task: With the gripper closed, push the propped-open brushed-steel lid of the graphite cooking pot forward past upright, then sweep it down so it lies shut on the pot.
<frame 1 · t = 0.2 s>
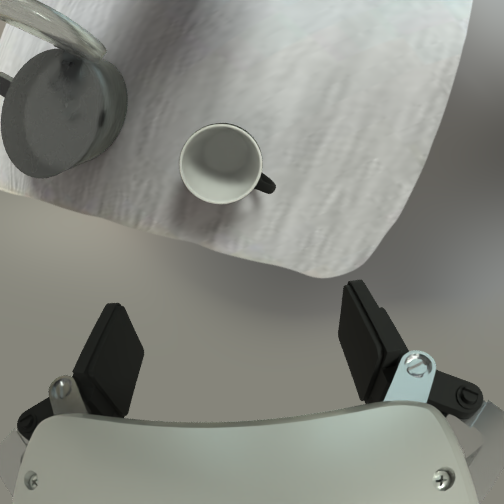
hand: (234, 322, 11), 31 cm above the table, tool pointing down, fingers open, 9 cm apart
mug: (234, 157, 38), on the table
lid: (25, 14, 11), point 19 cm above the table, hinge at 100.0°
pot: (79, 109, 33), on the table
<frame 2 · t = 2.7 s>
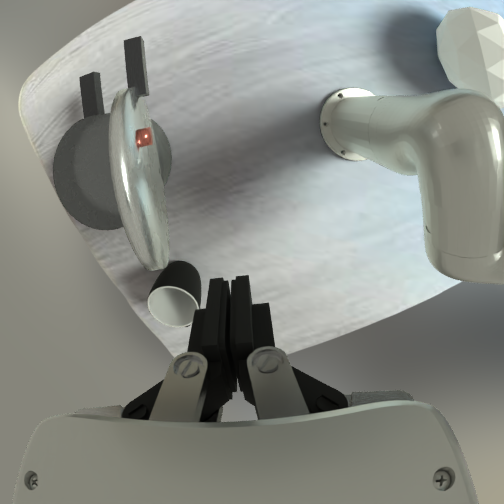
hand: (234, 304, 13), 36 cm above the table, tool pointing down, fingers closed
mug: (184, 280, 55), on the table
geometric polyhedron: (454, 58, 34), on the table
lid: (145, 151, 25), point 19 cm above the table, hinge at 100.0°
pot: (124, 160, 43), on the table
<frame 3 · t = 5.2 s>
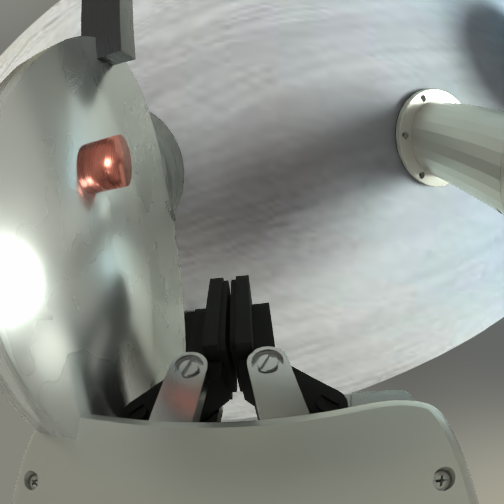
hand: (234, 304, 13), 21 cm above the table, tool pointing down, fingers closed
lid: (126, 186, 11), point 19 cm above the table, hinge at 95.9°, touching gripper
pot: (114, 175, 29), on the table
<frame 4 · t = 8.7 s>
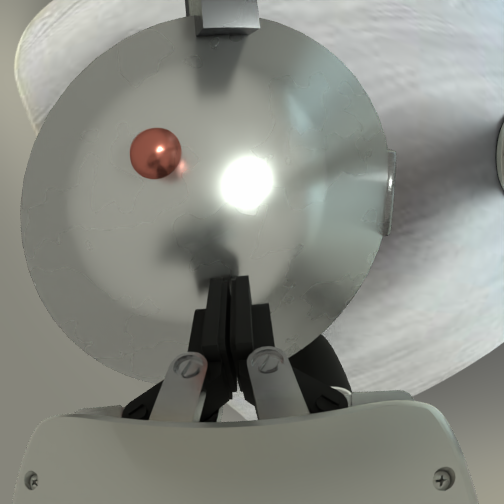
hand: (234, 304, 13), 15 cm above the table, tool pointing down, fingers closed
mug: (300, 351, 37), on the table
lid: (246, 172, 11), point 15 cm above the table, hinge at 22.3°, touching gripper
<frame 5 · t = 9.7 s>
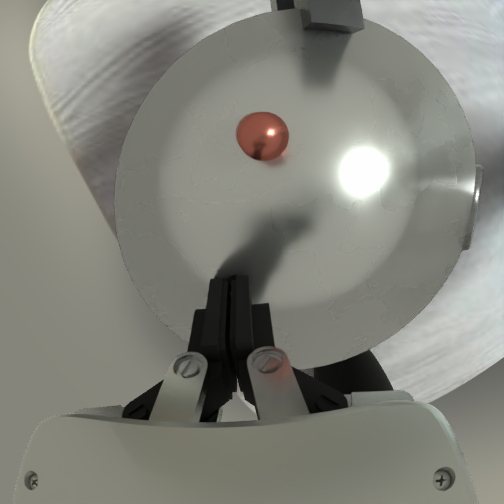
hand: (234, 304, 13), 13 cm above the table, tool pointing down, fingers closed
mug: (338, 360, 34), on the table
lid: (345, 166, 10), point 12 cm above the table, hinge at 5.2°, touching gripper
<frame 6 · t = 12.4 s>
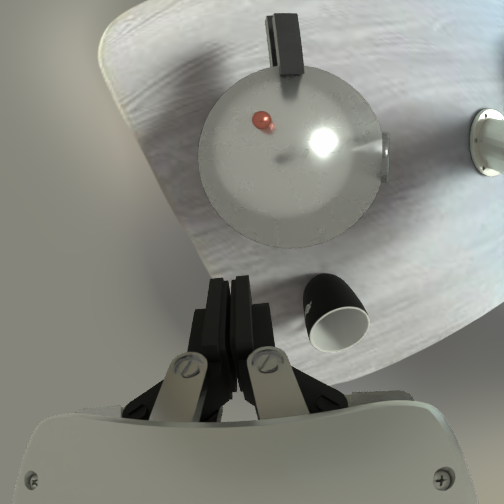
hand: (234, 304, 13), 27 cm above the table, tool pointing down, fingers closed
mug: (323, 296, 47), on the table
lid: (299, 133, 24), point 11 cm above the table, hinge at 0.0°
pot: (280, 145, 35), on the table
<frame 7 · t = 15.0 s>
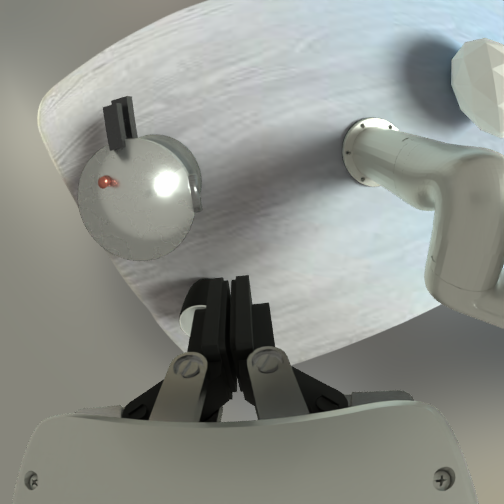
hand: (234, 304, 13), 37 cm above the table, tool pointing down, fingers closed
mug: (210, 296, 58), on the table
geometric polyhedron: (465, 85, 37), on the table
lid: (129, 186, 35), point 11 cm above the table, hinge at 0.0°
pot: (153, 182, 46), on the table
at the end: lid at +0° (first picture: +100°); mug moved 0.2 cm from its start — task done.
